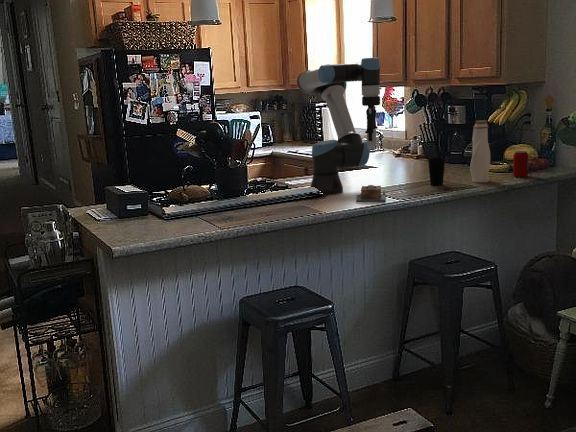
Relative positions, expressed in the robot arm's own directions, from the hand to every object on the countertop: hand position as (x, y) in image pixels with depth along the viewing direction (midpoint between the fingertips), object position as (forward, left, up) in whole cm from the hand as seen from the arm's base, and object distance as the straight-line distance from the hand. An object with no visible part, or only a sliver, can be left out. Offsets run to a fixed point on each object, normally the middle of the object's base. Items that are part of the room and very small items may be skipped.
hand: (371, 146), depth 270 cm
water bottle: (+48, +33, -22) cm, 63 cm away
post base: (-1, -6, -22) cm, 23 cm away
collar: (-1, -6, -21) cm, 21 cm away
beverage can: (+68, +42, -22) cm, 83 cm away
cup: (+28, +26, -22) cm, 44 cm away
